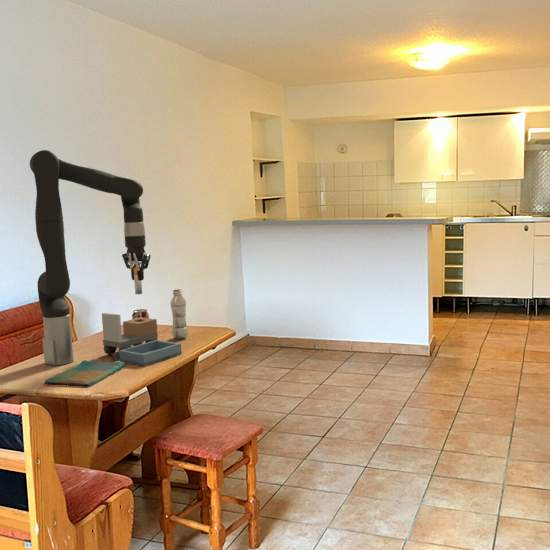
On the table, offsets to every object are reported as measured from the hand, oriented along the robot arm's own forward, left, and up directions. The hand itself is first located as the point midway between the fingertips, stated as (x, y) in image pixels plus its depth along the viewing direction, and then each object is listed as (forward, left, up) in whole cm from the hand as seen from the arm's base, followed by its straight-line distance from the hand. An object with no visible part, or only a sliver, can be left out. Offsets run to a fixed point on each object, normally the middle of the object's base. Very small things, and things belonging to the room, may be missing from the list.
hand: (137, 279), depth 241 cm
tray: (-7, -12, -27) cm, 30 cm away
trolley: (-4, +2, -27) cm, 27 cm away
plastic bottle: (+20, 0, -27) cm, 34 cm away
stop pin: (0, 0, -5) cm, 5 cm away
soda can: (+12, +14, -27) cm, 33 cm away
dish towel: (-33, -9, -28) cm, 44 cm away
